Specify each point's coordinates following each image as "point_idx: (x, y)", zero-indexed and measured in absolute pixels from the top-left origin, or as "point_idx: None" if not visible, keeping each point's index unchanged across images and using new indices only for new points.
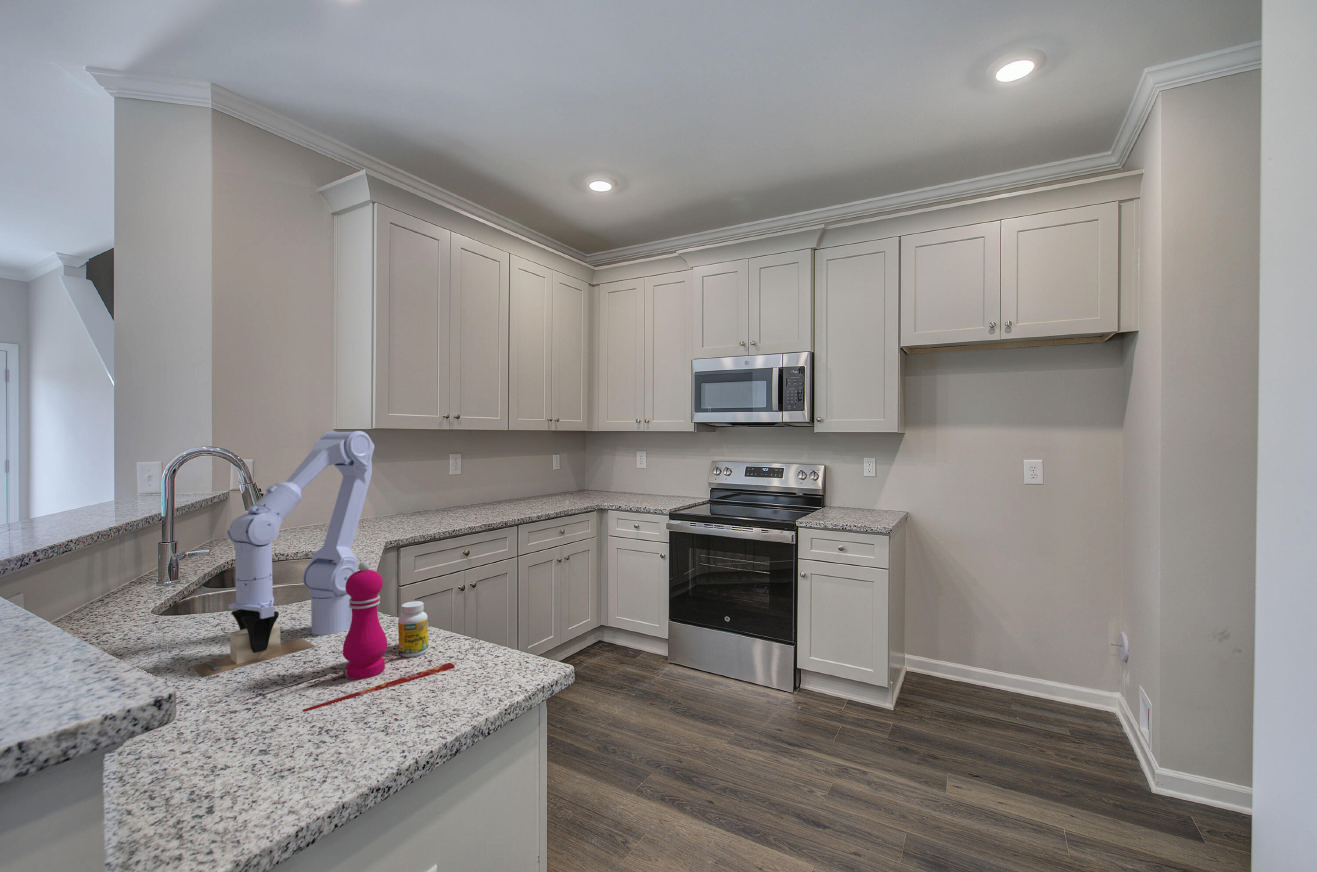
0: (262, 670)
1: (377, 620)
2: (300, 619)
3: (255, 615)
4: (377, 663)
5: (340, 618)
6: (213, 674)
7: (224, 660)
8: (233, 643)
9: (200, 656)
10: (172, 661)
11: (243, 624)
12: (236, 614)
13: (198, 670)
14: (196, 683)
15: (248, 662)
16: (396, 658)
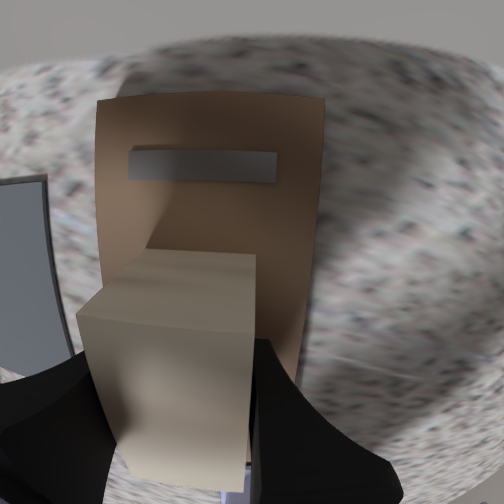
0: (89, 297)
1: None
2: (461, 454)
3: (1, 474)
4: None
5: None
6: (95, 141)
7: (259, 228)
8: (171, 291)
9: (477, 207)
10: (500, 129)
11: (256, 434)
12: (263, 497)
13: (207, 100)
14: (140, 87)
15: None
16: None
